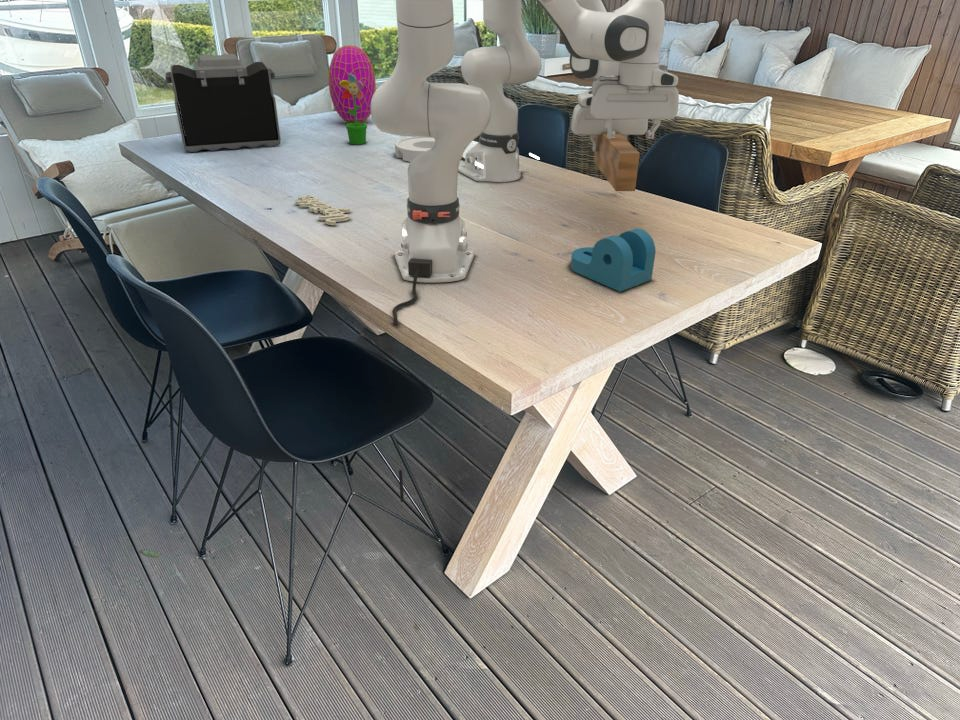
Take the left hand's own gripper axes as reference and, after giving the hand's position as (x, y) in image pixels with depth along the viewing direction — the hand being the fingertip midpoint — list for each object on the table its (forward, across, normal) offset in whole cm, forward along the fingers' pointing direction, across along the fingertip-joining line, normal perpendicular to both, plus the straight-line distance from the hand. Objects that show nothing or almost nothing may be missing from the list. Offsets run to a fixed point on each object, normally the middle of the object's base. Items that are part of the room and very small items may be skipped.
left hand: (630, 138), depth 163 cm
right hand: (+8, +1, +22) cm, 24 cm away
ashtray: (+23, -46, +89) cm, 103 cm away
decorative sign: (+25, -76, +29) cm, 85 cm away
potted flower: (+23, -71, +109) cm, 132 cm away
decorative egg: (+22, -75, +146) cm, 165 cm away
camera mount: (+26, -8, -20) cm, 34 cm away
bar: (+12, +1, +13) cm, 17 cm away
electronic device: (+24, -119, +111) cm, 164 cm away
